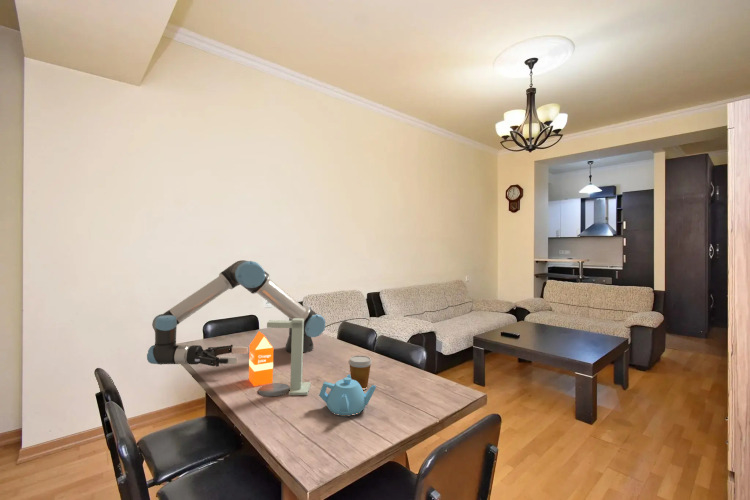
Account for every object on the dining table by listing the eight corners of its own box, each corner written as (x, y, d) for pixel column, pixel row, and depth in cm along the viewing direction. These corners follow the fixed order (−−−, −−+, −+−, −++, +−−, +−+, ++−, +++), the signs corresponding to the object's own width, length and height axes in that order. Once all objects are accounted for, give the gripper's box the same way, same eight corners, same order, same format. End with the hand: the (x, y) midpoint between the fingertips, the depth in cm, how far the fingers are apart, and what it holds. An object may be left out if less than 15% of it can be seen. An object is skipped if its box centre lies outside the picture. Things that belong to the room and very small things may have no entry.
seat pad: (254, 396, 130) (254, 395, 130) (262, 384, 142) (262, 383, 142) (286, 396, 131) (287, 395, 131) (292, 384, 143) (292, 383, 143)
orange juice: (266, 375, 151) (268, 330, 151) (273, 382, 144) (274, 334, 144) (248, 379, 147) (249, 332, 147) (253, 386, 139) (254, 336, 139)
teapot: (349, 395, 134) (350, 367, 134) (377, 409, 123) (377, 379, 123) (316, 407, 123) (317, 377, 123) (343, 423, 112) (343, 390, 112)
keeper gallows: (263, 395, 131) (265, 321, 131) (269, 385, 141) (271, 316, 141) (307, 395, 132) (309, 322, 132) (310, 385, 142) (312, 316, 142)
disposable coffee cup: (374, 385, 144) (375, 356, 144) (366, 394, 135) (367, 363, 135) (353, 382, 147) (353, 353, 147) (343, 390, 138) (344, 360, 138)
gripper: (202, 354, 156) (251, 354, 157) (174, 375, 131) (231, 375, 132) (203, 337, 156) (251, 338, 157) (174, 355, 131) (232, 355, 132)
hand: (242, 355), depth 144 cm, fingers open, 13 cm apart
